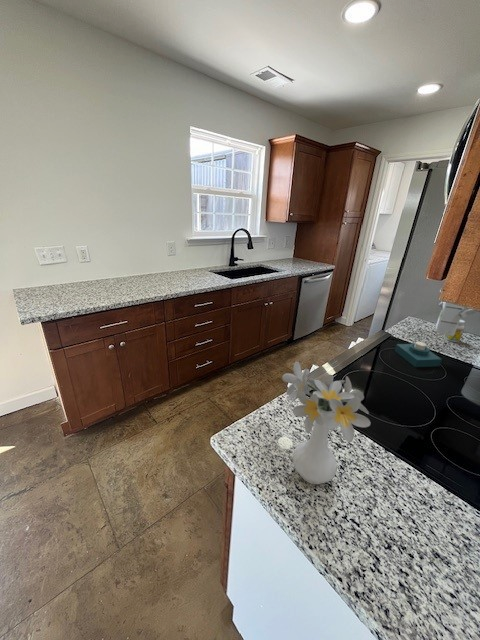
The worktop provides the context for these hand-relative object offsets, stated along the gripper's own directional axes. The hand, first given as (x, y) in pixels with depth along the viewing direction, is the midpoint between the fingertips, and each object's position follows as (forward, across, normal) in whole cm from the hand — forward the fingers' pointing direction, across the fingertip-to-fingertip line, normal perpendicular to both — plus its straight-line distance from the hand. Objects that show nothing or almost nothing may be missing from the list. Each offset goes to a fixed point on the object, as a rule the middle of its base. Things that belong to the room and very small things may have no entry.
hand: (449, 311), depth 97 cm
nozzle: (+16, 0, +6) cm, 17 cm away
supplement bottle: (-1, -14, +30) cm, 33 cm away
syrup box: (+6, 0, +7) cm, 9 cm away
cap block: (+19, 0, +9) cm, 21 cm away
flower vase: (+61, +43, -33) cm, 82 cm away
